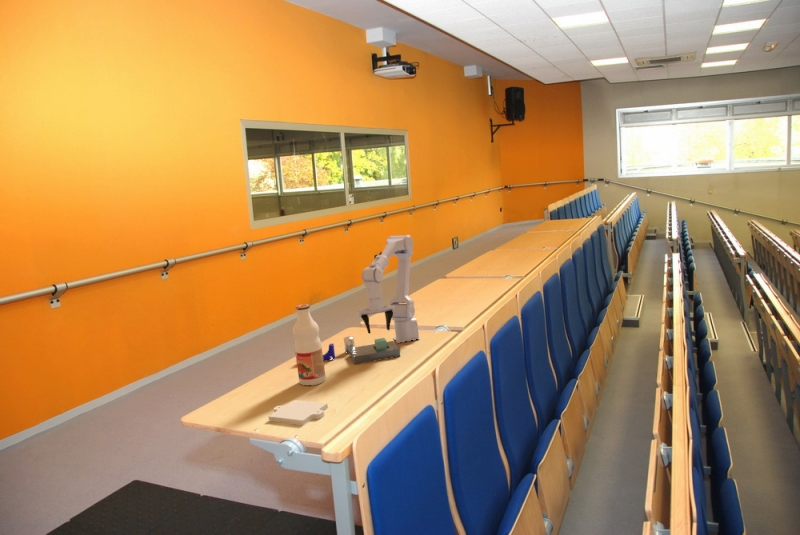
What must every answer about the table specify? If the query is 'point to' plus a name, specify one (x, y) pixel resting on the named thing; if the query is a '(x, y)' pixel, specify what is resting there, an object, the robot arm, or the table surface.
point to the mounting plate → (298, 412)
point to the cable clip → (329, 353)
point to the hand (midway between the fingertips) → (378, 331)
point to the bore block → (373, 353)
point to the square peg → (380, 344)
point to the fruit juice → (308, 348)
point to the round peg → (349, 343)
